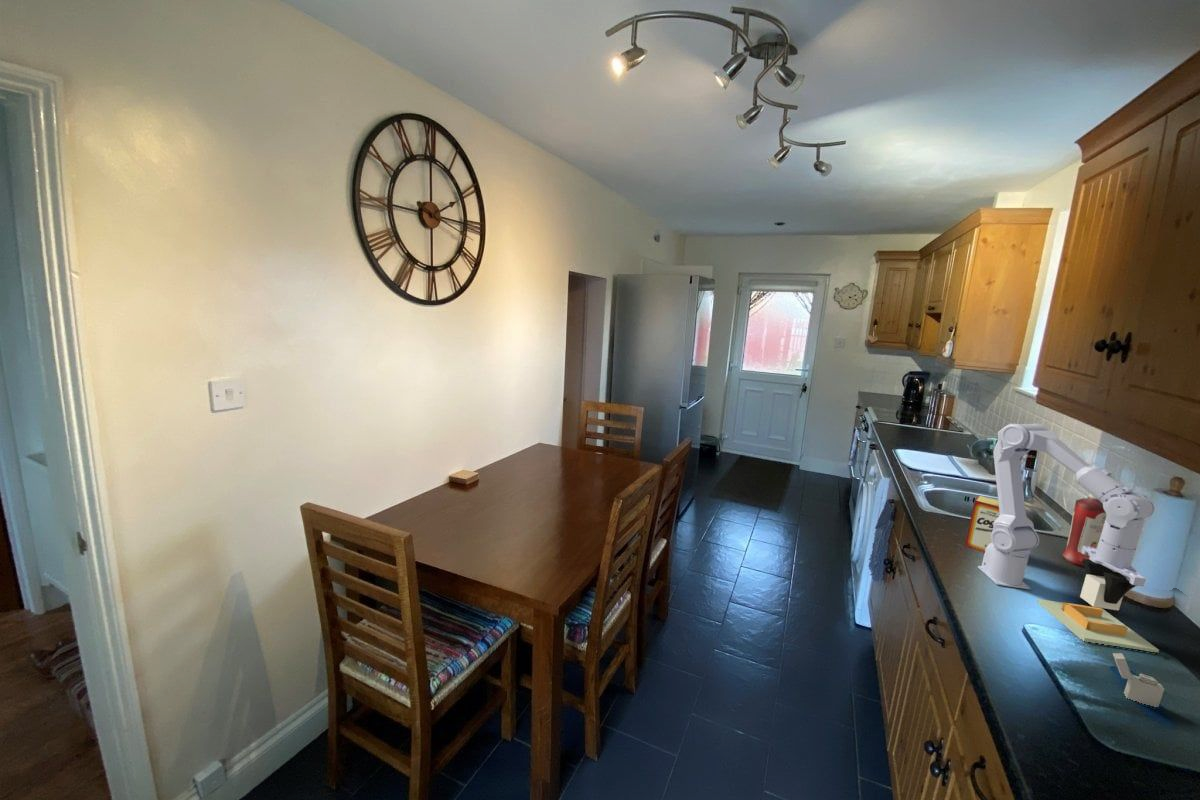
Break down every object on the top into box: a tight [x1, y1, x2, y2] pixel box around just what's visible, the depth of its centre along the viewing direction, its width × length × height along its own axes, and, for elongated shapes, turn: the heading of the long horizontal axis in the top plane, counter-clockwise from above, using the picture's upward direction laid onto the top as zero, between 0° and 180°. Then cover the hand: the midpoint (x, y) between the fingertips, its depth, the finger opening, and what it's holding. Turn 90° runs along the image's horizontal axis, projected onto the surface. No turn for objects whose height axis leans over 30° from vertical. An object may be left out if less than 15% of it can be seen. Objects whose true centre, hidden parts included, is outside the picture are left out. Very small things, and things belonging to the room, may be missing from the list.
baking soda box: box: [964, 495, 1000, 553], centre depth 147 cm, size 10×6×16 cm
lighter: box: [1112, 652, 1165, 708], centre depth 90 cm, size 7×2×8 cm, turn 56°
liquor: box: [1062, 492, 1107, 567], centre depth 141 cm, size 7×7×28 cm
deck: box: [1037, 598, 1160, 653], centre depth 112 cm, size 15×14×3 cm
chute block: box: [1079, 574, 1124, 611], centre depth 110 cm, size 4×5×6 cm
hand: (1102, 596), depth 111 cm, fingers closed on chute block, 4 cm apart
